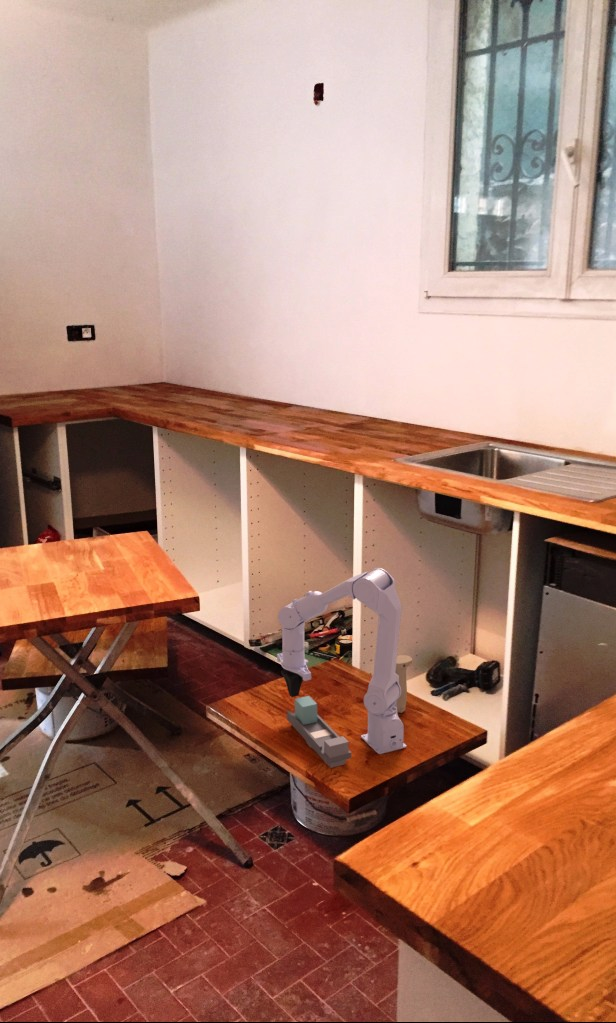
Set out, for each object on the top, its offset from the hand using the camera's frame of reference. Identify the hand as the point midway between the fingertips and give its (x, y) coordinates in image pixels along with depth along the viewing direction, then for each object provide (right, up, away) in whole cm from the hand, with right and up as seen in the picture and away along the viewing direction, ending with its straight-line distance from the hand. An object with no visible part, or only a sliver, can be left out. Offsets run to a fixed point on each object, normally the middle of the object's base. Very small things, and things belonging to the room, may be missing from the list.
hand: (293, 695), depth 224 cm
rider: (+3, -5, -6) cm, 8 cm away
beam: (+6, -10, -11) cm, 16 cm away
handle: (+28, -5, +5) cm, 29 cm away
